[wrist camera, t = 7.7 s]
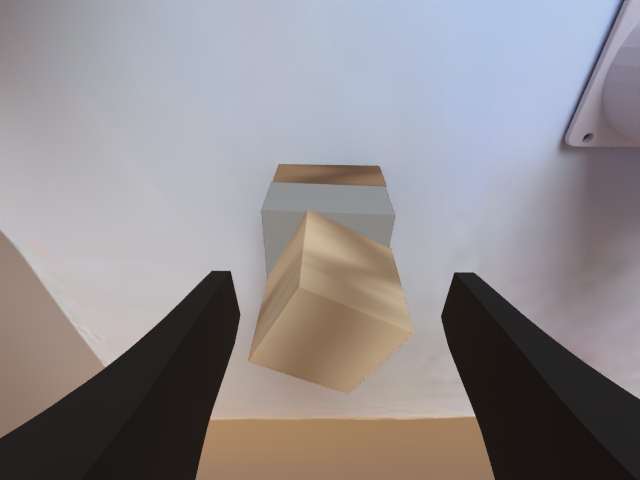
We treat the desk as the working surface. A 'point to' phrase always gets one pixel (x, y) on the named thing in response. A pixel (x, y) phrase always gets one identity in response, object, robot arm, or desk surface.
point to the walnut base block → (330, 174)
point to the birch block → (331, 307)
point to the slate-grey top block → (324, 212)
